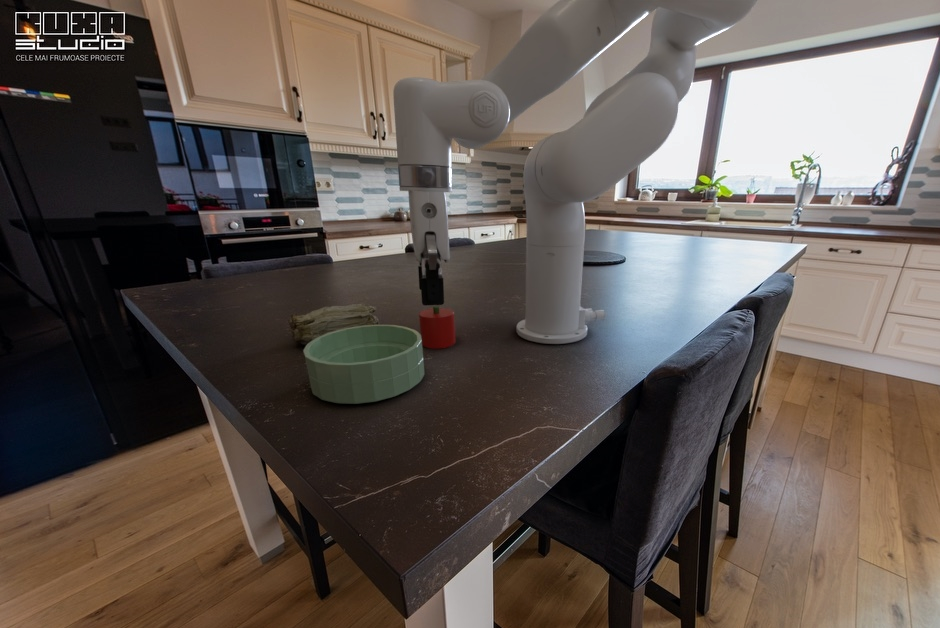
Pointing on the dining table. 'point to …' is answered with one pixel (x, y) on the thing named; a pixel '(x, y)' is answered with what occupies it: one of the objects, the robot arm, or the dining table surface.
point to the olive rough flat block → (330, 321)
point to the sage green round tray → (364, 363)
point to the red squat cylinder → (437, 327)
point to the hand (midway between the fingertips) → (430, 296)
